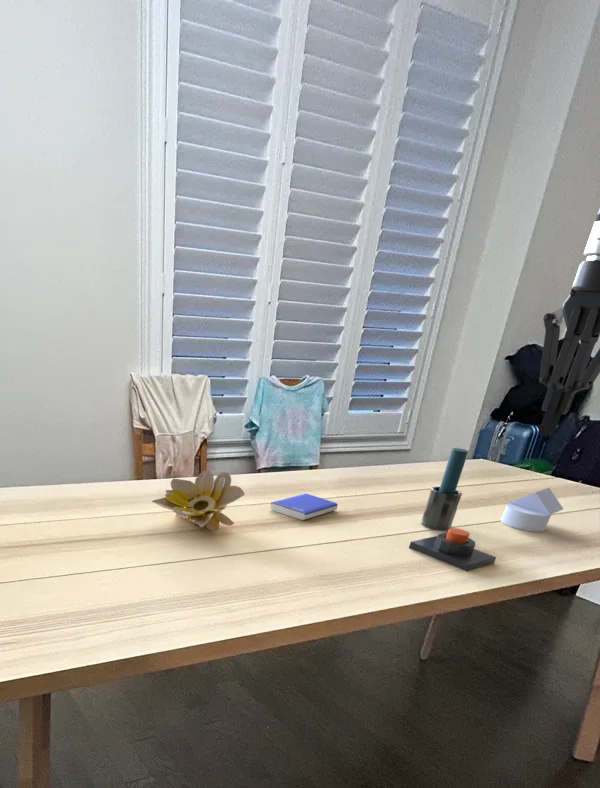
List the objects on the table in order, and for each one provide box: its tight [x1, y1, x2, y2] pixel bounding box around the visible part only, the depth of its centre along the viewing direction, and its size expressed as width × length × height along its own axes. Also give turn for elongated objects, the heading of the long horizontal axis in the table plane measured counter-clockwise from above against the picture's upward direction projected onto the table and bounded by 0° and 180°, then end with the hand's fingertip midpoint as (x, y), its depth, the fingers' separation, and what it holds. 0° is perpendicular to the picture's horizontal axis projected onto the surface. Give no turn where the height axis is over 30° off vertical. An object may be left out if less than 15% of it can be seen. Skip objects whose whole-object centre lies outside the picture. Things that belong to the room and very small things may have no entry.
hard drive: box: [269, 493, 338, 521], centre depth 127 cm, size 2×8×12 cm
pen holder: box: [420, 486, 463, 532], centre depth 126 cm, size 6×6×7 cm
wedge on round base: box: [500, 487, 564, 533], centre depth 135 cm, size 9×7×13 cm
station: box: [408, 532, 497, 572], centre depth 112 cm, size 12×9×3 cm
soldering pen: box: [439, 447, 469, 495], centre depth 123 cm, size 3×3×14 cm
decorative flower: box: [151, 469, 246, 532], centre depth 111 cm, size 15×11×10 cm
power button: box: [446, 528, 470, 544], centre depth 111 cm, size 4×4×2 cm
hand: (545, 434), depth 106 cm, fingers closed
